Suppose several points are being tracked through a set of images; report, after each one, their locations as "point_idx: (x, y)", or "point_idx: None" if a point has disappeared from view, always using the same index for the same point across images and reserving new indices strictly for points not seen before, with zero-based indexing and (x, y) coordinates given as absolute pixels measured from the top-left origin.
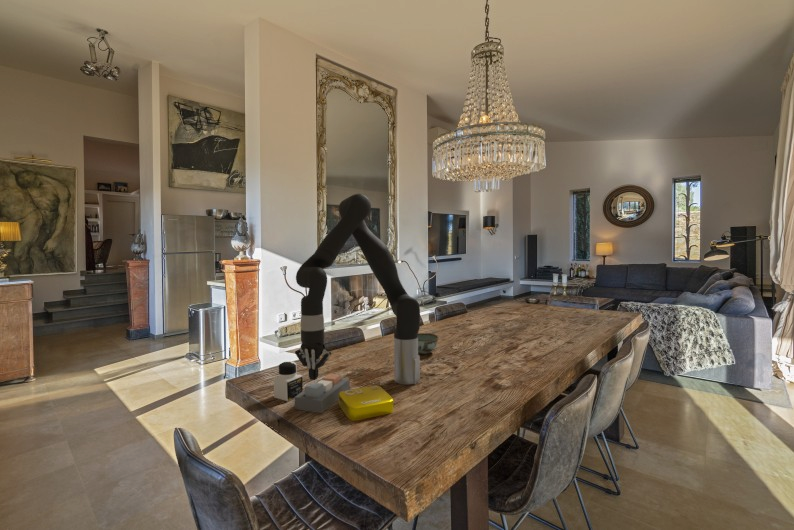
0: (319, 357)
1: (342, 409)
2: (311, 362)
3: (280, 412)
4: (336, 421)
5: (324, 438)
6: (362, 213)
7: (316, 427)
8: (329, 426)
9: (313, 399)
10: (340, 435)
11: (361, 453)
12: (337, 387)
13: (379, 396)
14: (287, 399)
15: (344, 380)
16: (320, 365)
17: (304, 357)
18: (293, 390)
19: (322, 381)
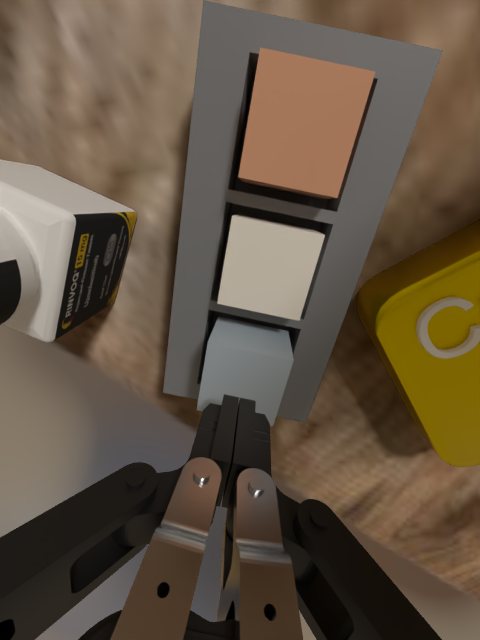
0: (291, 607)
1: (382, 360)
2: (183, 512)
3: (141, 389)
4: (368, 436)
5: (347, 513)
6: None
7: (308, 469)
8: (349, 463)
9: None
10: (392, 502)
11: (455, 561)
12: (359, 254)
13: None
14: (107, 305)
15: (397, 95)
16: (323, 587)
17: (67, 584)
18: (100, 284)
19: (251, 243)
